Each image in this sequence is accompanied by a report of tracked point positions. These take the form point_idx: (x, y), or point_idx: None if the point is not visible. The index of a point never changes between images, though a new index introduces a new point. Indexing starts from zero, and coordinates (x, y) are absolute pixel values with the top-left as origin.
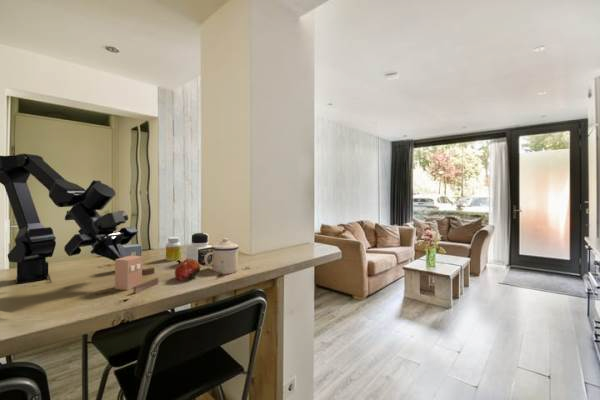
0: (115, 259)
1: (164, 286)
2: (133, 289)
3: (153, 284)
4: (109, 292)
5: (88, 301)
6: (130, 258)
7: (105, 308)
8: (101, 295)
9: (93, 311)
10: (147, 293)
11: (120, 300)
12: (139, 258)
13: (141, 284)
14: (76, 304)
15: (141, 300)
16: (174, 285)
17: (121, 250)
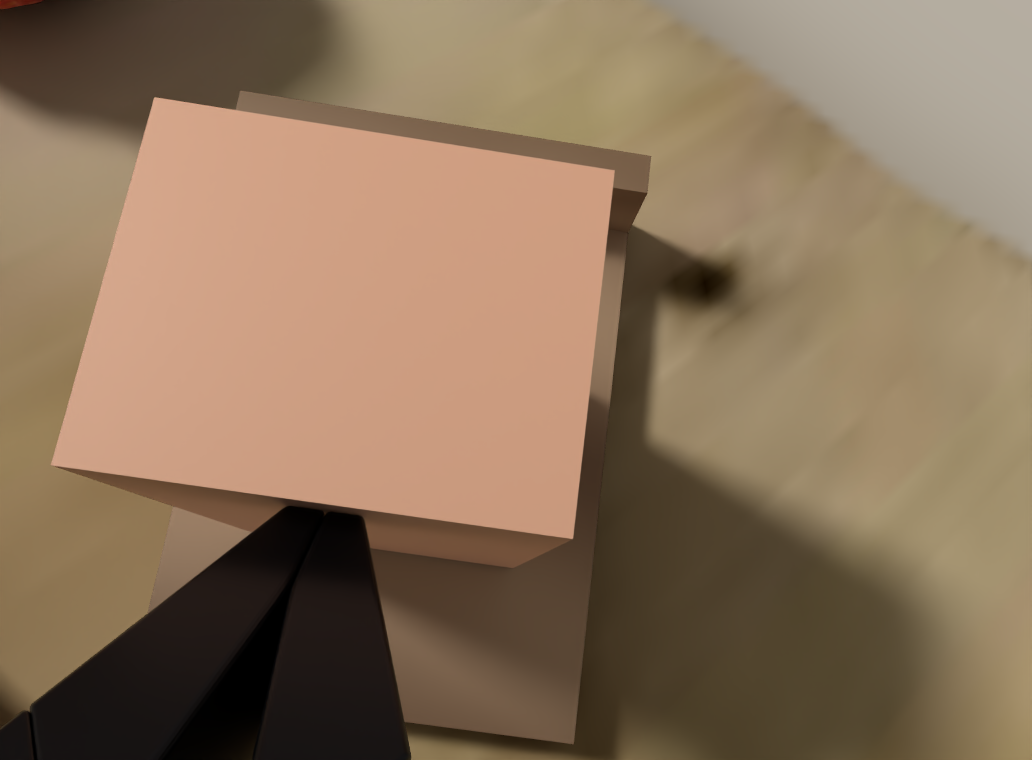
0: (572, 534)
1: None
2: (638, 210)
3: None
4: None
5: (823, 673)
6: (412, 233)
7: (935, 336)
8: (622, 675)
9: (1023, 397)
10: None
11: (722, 332)
12: (255, 127)
13: (548, 147)
14: (929, 740)
15: (679, 125)
16: (169, 20)
17: (71, 688)
